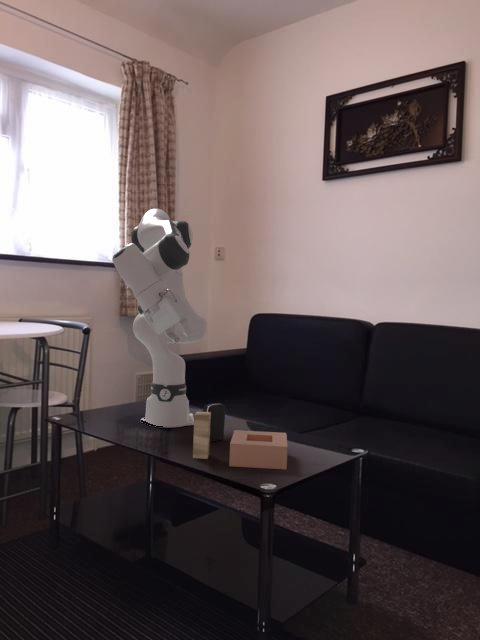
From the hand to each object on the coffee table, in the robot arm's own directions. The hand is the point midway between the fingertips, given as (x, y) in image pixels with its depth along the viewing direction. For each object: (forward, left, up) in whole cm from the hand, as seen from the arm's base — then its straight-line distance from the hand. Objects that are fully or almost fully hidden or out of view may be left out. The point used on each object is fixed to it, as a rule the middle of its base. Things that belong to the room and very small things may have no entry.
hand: (183, 338), depth 148 cm
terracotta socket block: (0, +22, -32) cm, 39 cm away
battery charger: (-18, +7, -33) cm, 38 cm away
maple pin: (0, +6, -32) cm, 33 cm away
